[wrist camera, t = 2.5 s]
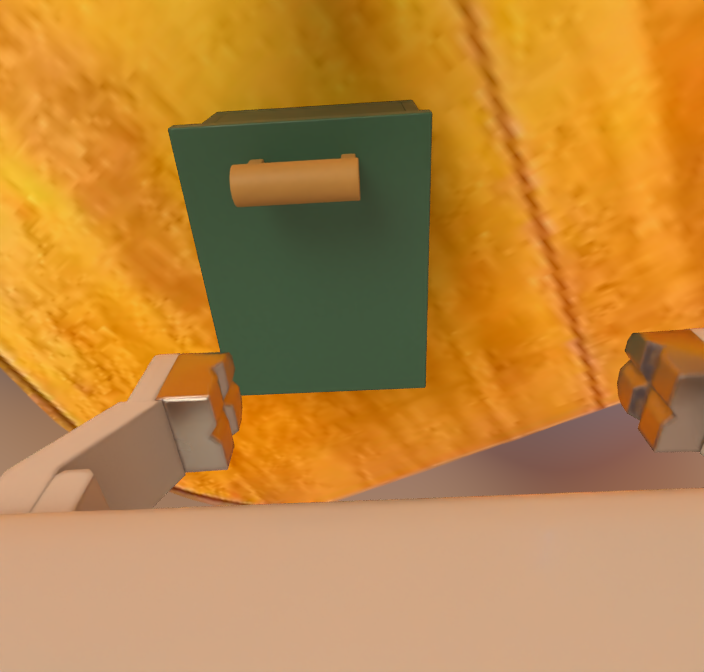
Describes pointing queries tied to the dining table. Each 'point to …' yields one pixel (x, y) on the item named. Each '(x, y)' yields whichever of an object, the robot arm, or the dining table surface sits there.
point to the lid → (314, 246)
